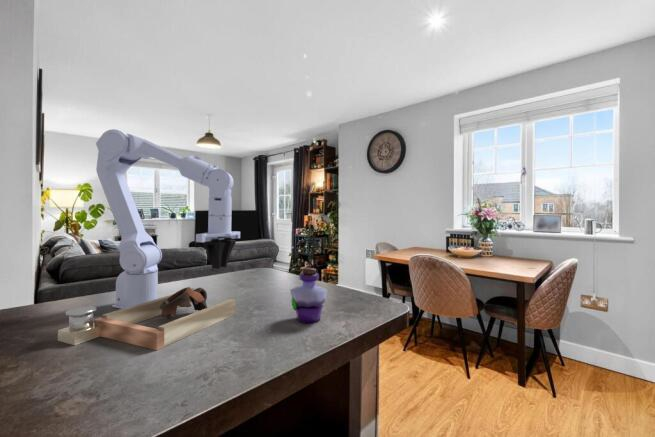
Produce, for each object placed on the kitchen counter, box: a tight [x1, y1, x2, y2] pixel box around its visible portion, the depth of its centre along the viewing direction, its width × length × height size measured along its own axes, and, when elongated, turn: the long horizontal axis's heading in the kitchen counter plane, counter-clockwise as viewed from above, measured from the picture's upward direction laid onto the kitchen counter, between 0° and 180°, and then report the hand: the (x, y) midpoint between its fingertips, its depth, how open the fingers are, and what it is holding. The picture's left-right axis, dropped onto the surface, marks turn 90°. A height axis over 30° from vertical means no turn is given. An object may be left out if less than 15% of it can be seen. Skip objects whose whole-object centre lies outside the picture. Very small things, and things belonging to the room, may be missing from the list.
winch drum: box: [57, 305, 102, 346], centre depth 59 cm, size 5×5×5 cm
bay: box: [93, 294, 237, 351], centre depth 67 cm, size 17×22×4 cm
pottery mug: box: [159, 286, 208, 319], centre depth 71 cm, size 12×10×8 cm
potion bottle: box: [290, 267, 328, 325], centre depth 72 cm, size 9×9×12 cm
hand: (219, 267), depth 81 cm, fingers closed
